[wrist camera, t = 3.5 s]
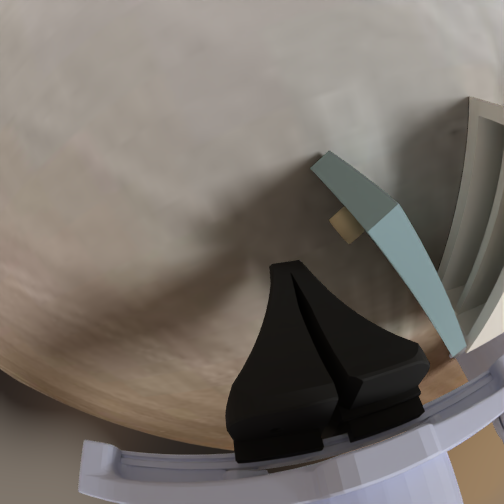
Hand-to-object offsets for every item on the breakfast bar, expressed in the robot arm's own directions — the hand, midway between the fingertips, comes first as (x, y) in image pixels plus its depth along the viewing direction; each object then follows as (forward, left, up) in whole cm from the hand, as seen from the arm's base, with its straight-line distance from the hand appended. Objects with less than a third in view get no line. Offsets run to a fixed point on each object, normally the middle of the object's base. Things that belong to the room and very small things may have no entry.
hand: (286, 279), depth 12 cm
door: (-1, -7, -2) cm, 7 cm away
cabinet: (+1, -16, -2) cm, 16 cm away
